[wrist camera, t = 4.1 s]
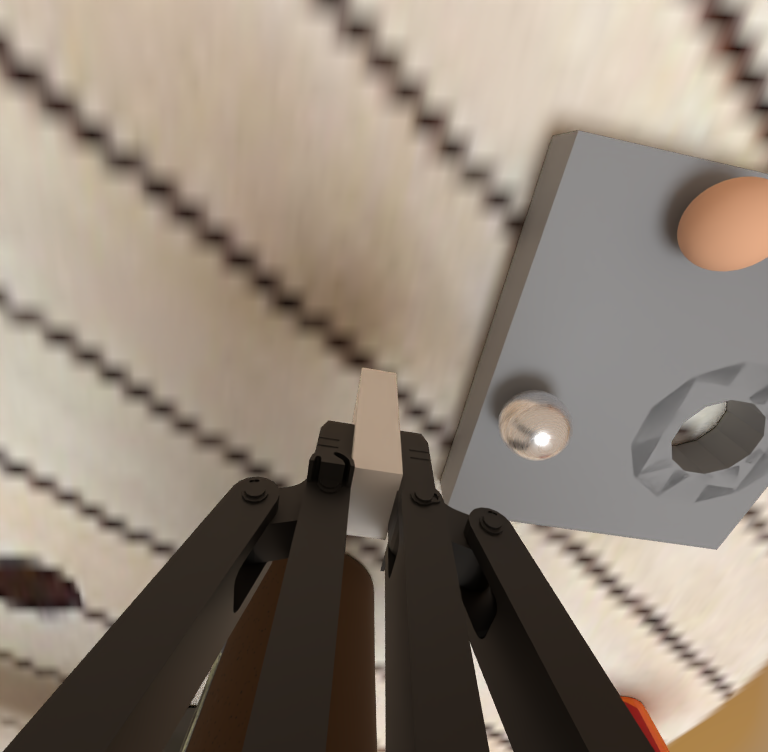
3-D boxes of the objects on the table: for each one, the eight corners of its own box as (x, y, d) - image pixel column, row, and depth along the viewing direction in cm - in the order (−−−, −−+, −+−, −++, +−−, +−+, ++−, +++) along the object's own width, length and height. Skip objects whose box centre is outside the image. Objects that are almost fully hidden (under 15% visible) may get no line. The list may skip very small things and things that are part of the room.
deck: (440, 482, 25) (445, 512, 23) (552, 135, 17) (578, 130, 15) (688, 518, 27) (717, 549, 25) (906, 216, 18) (980, 222, 16)
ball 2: (644, 254, 17) (698, 271, 14) (684, 168, 15) (754, 167, 12) (715, 268, 17) (782, 288, 14) (761, 185, 15) (846, 188, 13)
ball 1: (482, 428, 20) (499, 470, 18) (502, 373, 19) (523, 408, 16) (542, 438, 21) (568, 480, 18) (566, 383, 19) (598, 420, 16)
